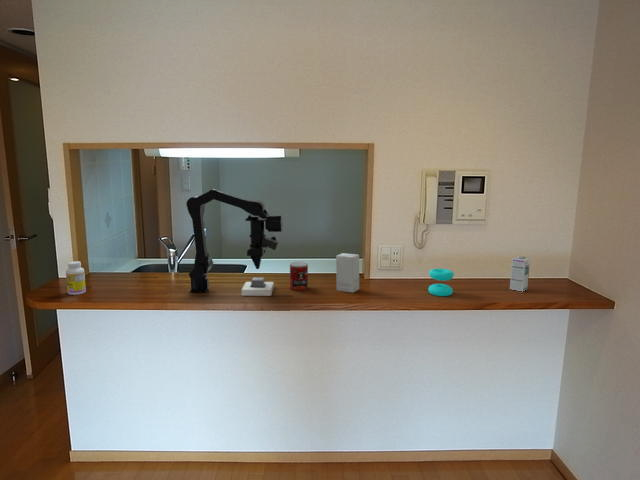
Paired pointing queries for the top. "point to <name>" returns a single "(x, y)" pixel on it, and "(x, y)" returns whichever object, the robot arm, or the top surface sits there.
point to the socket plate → (257, 289)
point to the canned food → (298, 276)
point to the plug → (258, 283)
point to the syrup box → (519, 273)
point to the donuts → (441, 288)
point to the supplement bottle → (75, 278)
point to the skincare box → (347, 272)
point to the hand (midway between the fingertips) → (257, 268)
